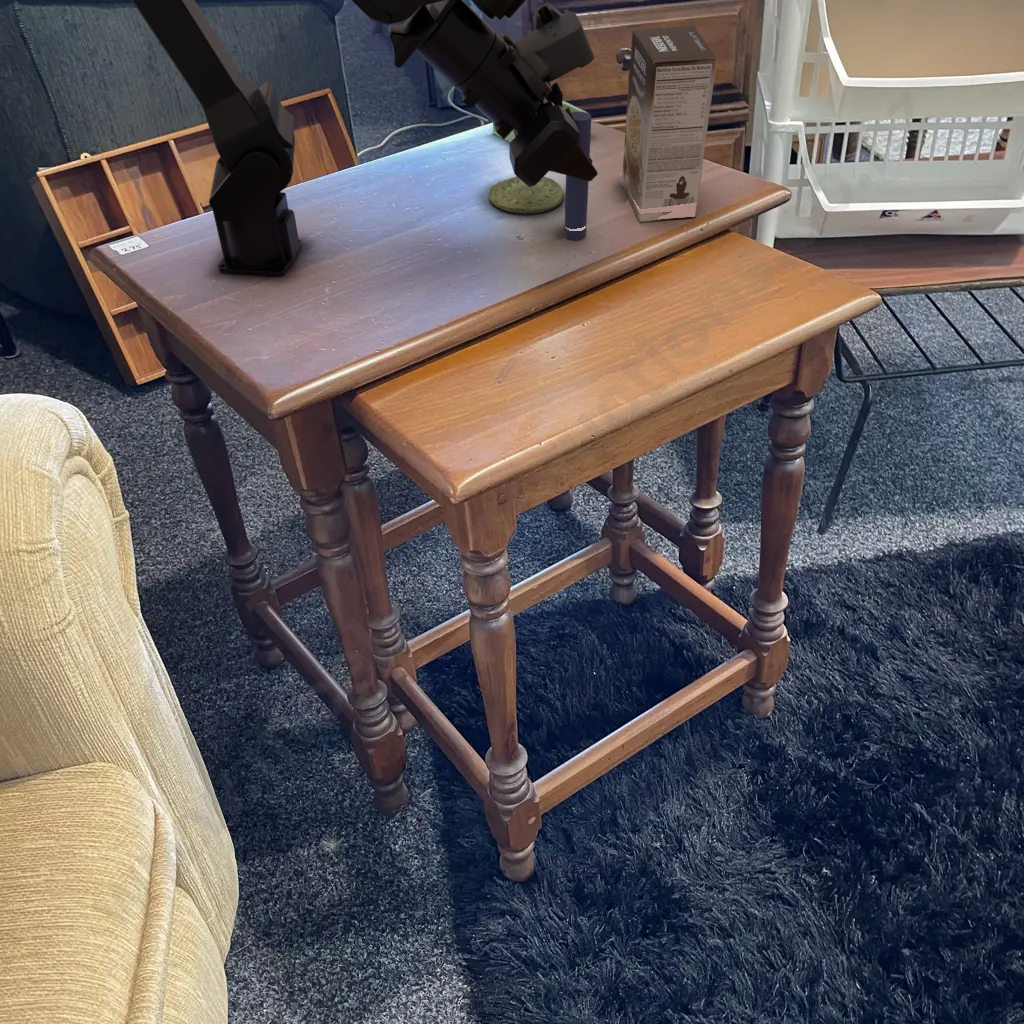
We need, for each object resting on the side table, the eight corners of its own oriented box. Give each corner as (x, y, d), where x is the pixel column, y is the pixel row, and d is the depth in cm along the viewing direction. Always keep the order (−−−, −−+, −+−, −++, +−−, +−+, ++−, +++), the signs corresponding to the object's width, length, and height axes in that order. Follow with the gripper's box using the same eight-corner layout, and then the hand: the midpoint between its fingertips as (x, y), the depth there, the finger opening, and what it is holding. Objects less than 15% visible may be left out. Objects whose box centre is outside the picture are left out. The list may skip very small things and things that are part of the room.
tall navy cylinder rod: (563, 239, 98) (566, 119, 90) (565, 229, 100) (568, 110, 92) (585, 241, 98) (590, 121, 90) (586, 230, 100) (592, 111, 92)
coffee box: (619, 184, 107) (629, 27, 96) (676, 180, 108) (693, 23, 97) (638, 223, 101) (652, 60, 90) (699, 219, 101) (720, 56, 90)
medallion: (578, 194, 105) (578, 188, 105) (530, 221, 101) (530, 214, 100) (521, 173, 109) (521, 167, 109) (473, 198, 105) (472, 192, 104)
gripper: (557, 19, 76) (680, 150, 85) (522, -47, 89) (632, 72, 98) (460, 127, 81) (586, 240, 89) (441, 49, 94) (552, 154, 103)
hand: (591, 171), depth 95 cm, fingers closed on tall navy cylinder rod, 2 cm apart
